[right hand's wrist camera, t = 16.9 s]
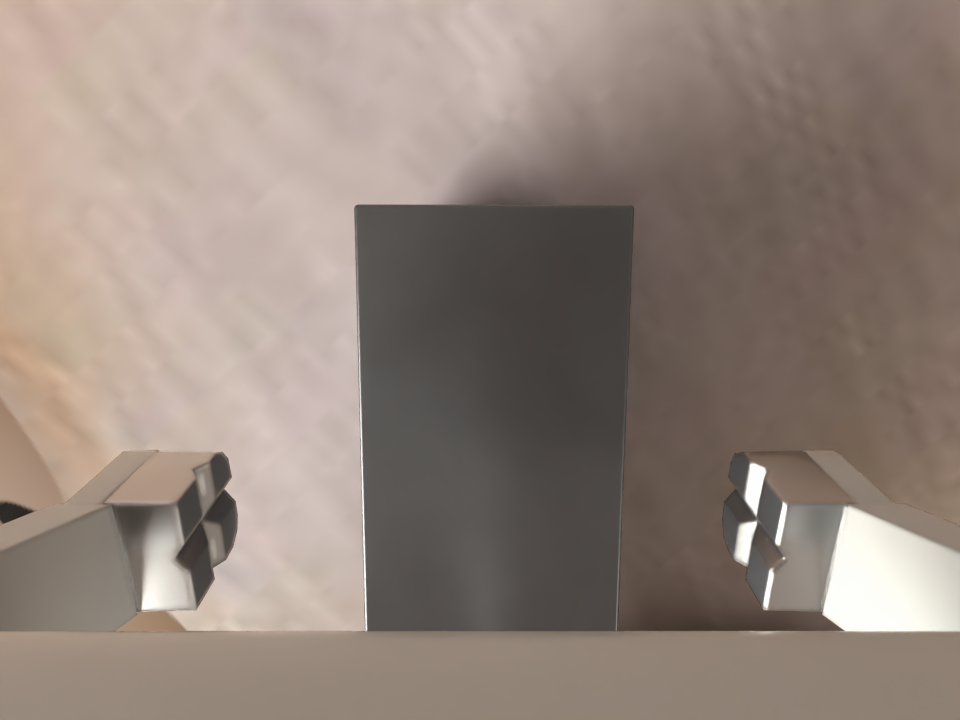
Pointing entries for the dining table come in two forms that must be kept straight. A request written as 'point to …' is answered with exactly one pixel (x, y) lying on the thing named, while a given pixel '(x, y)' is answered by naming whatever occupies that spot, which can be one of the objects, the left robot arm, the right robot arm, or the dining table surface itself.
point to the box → (492, 414)
